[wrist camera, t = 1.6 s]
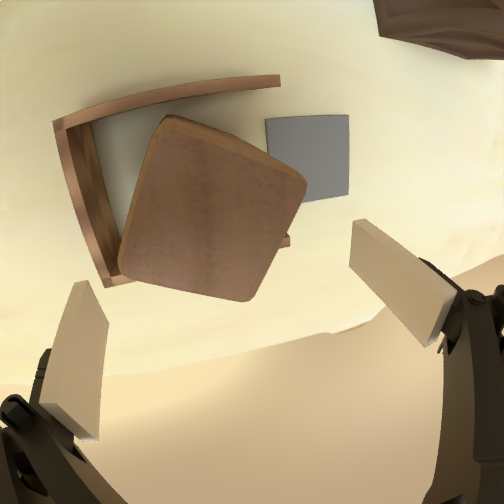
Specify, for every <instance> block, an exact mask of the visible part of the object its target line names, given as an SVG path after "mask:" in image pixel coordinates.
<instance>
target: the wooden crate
mask: <svg viewBox="0 0 504 504" xmlns="http://www.w3.org/2000/svg"><path fill="white" fill-rule="evenodd" d="M373 3H374V8H375V13H376V19H377V24H378V31H379V36H380V37H386V38H391V39H396V40H401V41H405V42H410V43H414V44H418V45H422V46H425V47H429V48H433V49H436V50H440V51H443V52H446V53H449V54H452V55H455V56H458V57H461V58H464V59H467V60H468V59H490V60H504V0H373Z"/></svg>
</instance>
